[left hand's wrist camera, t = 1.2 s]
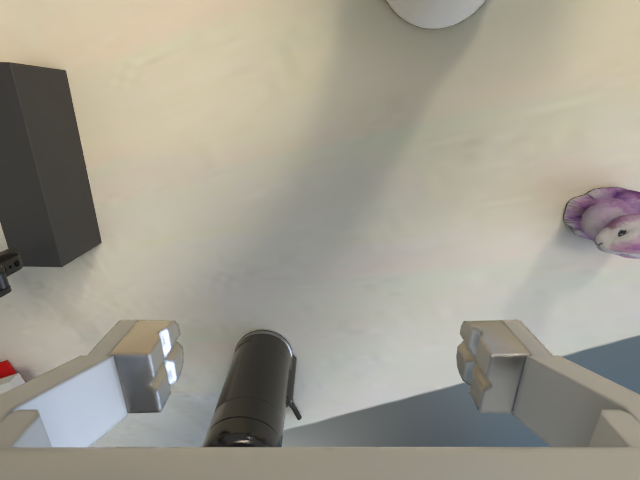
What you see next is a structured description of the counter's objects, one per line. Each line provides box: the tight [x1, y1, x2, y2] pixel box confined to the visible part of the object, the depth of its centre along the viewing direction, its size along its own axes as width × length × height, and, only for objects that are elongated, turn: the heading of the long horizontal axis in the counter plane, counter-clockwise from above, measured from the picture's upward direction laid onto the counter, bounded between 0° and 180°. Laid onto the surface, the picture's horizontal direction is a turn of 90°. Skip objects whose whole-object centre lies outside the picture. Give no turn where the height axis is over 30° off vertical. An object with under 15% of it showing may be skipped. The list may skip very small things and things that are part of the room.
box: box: [0, 62, 101, 267], centre depth 45 cm, size 23×6×9 cm, turn 179°
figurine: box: [564, 187, 640, 259], centre depth 44 cm, size 9×10×15 cm
